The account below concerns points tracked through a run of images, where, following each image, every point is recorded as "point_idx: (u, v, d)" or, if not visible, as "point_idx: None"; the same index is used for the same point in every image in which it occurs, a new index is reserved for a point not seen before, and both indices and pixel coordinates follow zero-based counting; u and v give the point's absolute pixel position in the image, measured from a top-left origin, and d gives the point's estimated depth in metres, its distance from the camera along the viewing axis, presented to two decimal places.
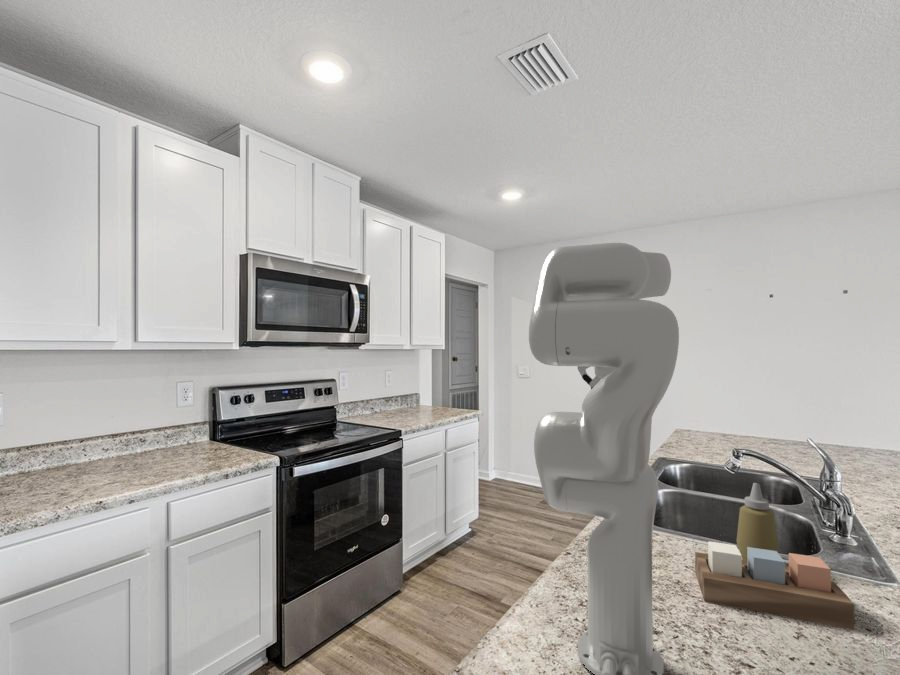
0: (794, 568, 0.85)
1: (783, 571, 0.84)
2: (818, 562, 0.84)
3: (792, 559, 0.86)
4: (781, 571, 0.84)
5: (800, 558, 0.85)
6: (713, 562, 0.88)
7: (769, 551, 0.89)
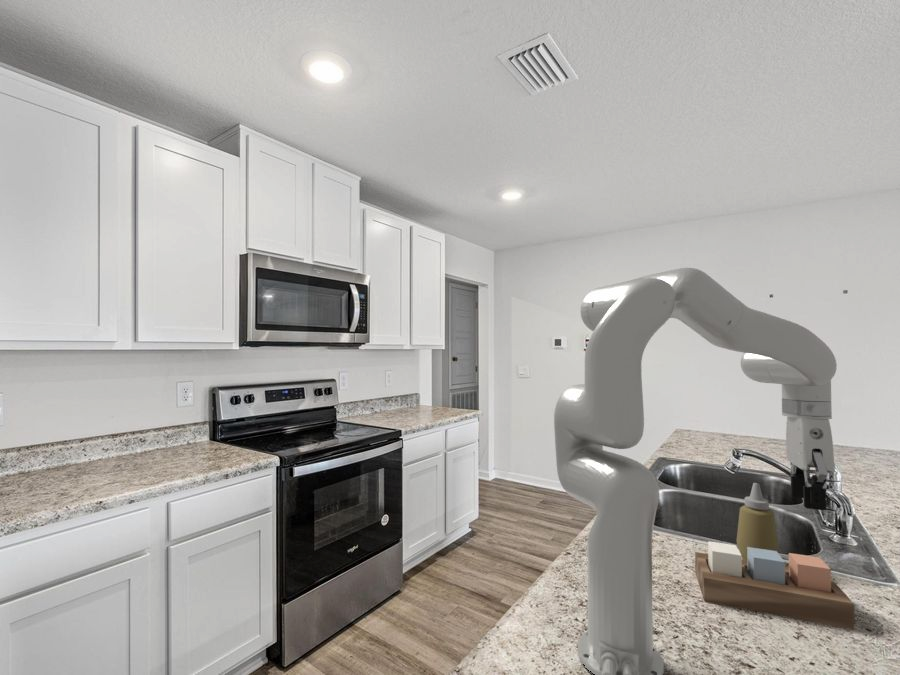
0: (794, 568, 0.85)
1: (783, 571, 0.84)
2: (818, 562, 0.84)
3: (792, 559, 0.86)
4: (781, 571, 0.84)
5: (800, 558, 0.85)
6: (713, 562, 0.88)
7: (769, 551, 0.89)
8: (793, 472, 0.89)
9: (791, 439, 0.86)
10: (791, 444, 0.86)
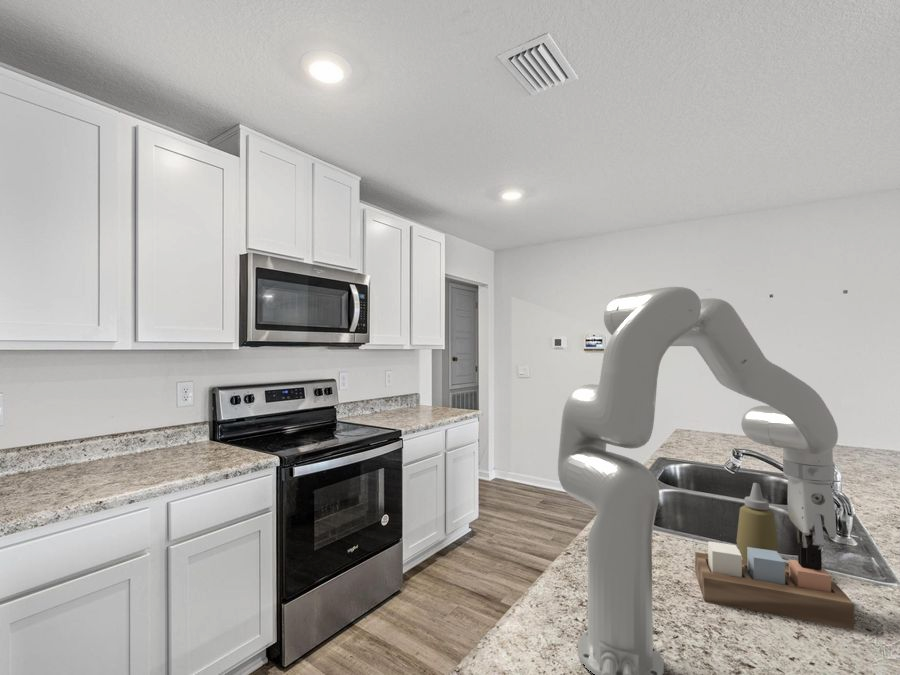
0: (794, 575, 0.85)
1: (783, 571, 0.84)
2: None
3: (792, 566, 0.86)
4: (781, 571, 0.84)
5: None
6: (713, 562, 0.88)
7: (769, 551, 0.89)
8: (800, 537, 0.86)
9: (793, 500, 0.86)
10: (793, 505, 0.86)
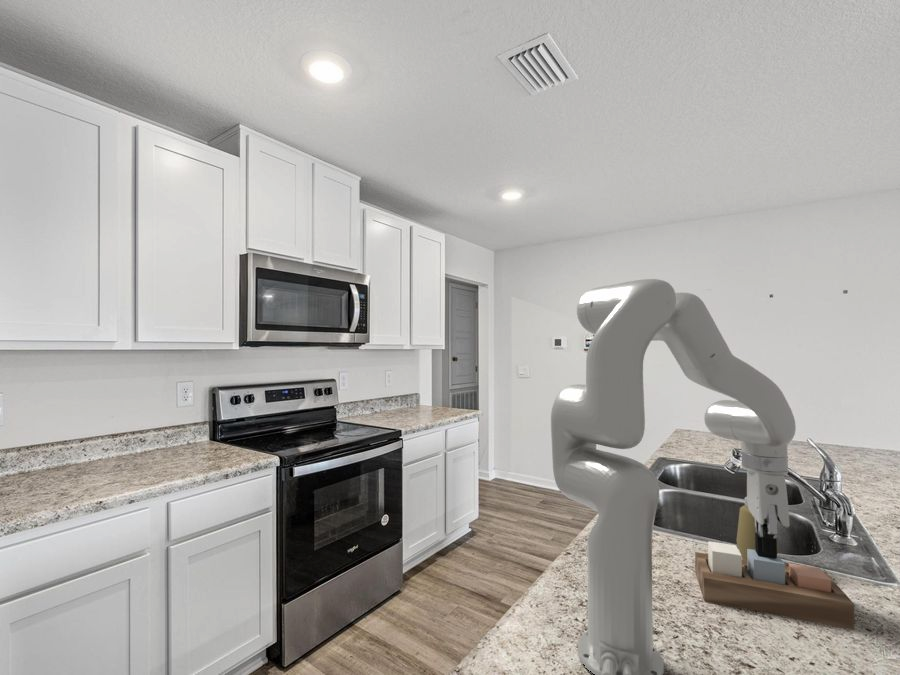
0: (794, 579, 0.85)
1: (783, 573, 0.84)
2: (818, 572, 0.84)
3: (792, 570, 0.86)
4: (782, 573, 0.84)
5: (801, 569, 0.85)
6: (713, 562, 0.88)
7: None
8: (757, 527, 0.89)
9: (750, 491, 0.88)
10: (750, 496, 0.89)
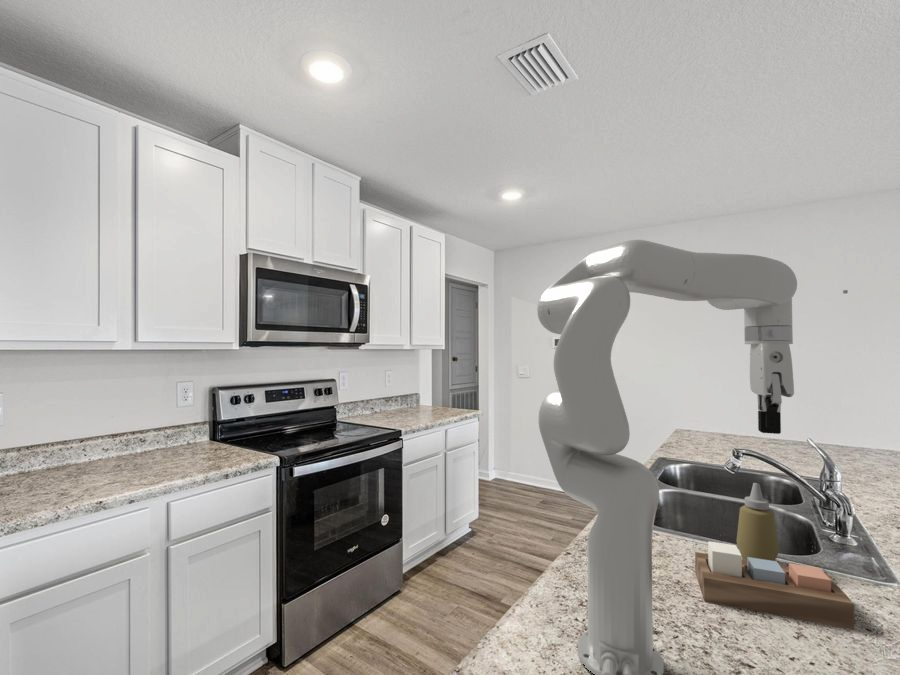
0: (794, 579, 0.85)
1: (783, 582, 0.84)
2: (818, 572, 0.84)
3: (792, 570, 0.86)
4: (782, 582, 0.84)
5: (801, 569, 0.85)
6: (713, 562, 0.88)
7: (769, 561, 0.88)
8: (760, 404, 0.86)
9: (753, 367, 0.85)
10: (753, 372, 0.86)
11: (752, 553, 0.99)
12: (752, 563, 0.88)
